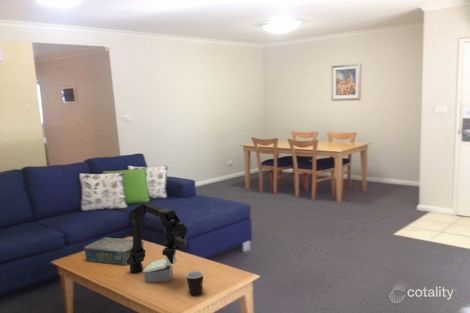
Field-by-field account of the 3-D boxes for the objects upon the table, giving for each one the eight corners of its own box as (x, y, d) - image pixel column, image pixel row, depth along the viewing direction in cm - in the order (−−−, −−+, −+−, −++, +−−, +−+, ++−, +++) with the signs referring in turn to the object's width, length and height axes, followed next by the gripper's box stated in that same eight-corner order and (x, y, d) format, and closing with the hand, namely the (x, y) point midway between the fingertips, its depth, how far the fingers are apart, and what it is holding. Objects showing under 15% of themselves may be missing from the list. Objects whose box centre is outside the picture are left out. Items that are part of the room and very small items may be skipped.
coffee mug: (197, 298, 213) (196, 279, 212) (184, 295, 217) (182, 276, 216) (211, 289, 223) (209, 270, 221) (197, 286, 227) (196, 268, 226)
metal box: (105, 250, 292) (104, 236, 291) (145, 254, 280) (144, 240, 278) (84, 262, 272) (82, 247, 271) (126, 267, 260) (124, 251, 259)
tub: (144, 283, 234) (143, 272, 233) (148, 276, 243) (147, 265, 242) (170, 282, 233) (169, 271, 232) (173, 275, 242) (172, 265, 241)
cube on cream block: (144, 274, 233) (141, 267, 232) (154, 265, 241) (150, 258, 240) (171, 267, 224) (168, 260, 224) (180, 258, 233) (176, 251, 232)
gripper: (182, 238, 217) (185, 267, 219) (187, 227, 236) (189, 254, 238) (160, 239, 218) (163, 269, 220) (167, 228, 236) (170, 255, 238)
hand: (172, 261), depth 229 cm, fingers closed on cube on cream block, 4 cm apart
